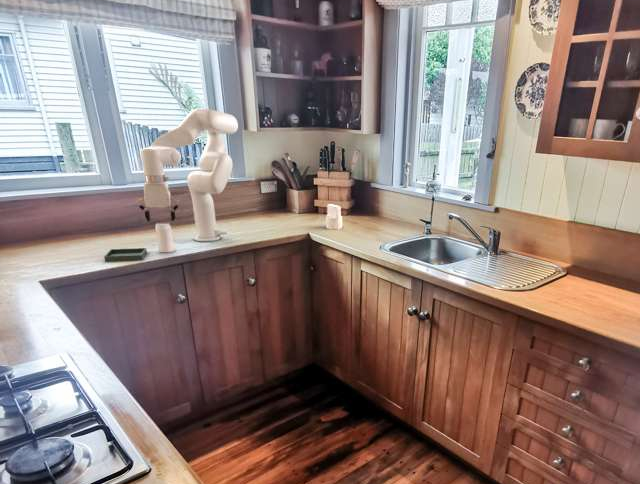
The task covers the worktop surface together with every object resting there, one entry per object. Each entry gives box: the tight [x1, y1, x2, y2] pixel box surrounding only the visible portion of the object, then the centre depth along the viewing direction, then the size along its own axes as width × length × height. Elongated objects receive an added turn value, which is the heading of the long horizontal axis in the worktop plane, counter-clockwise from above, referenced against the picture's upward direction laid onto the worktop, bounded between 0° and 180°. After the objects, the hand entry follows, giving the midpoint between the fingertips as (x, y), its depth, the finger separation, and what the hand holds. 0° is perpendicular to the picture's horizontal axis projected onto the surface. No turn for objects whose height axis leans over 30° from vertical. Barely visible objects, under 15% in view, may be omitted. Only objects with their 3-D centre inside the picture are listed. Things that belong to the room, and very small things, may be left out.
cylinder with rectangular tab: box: [325, 203, 343, 230], centre depth 256 cm, size 9×9×12 cm
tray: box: [104, 247, 148, 262], centre depth 197 cm, size 14×11×2 cm
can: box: [154, 222, 176, 254], centre depth 204 cm, size 6×6×12 cm
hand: (161, 220), depth 201 cm, fingers open, 9 cm apart
